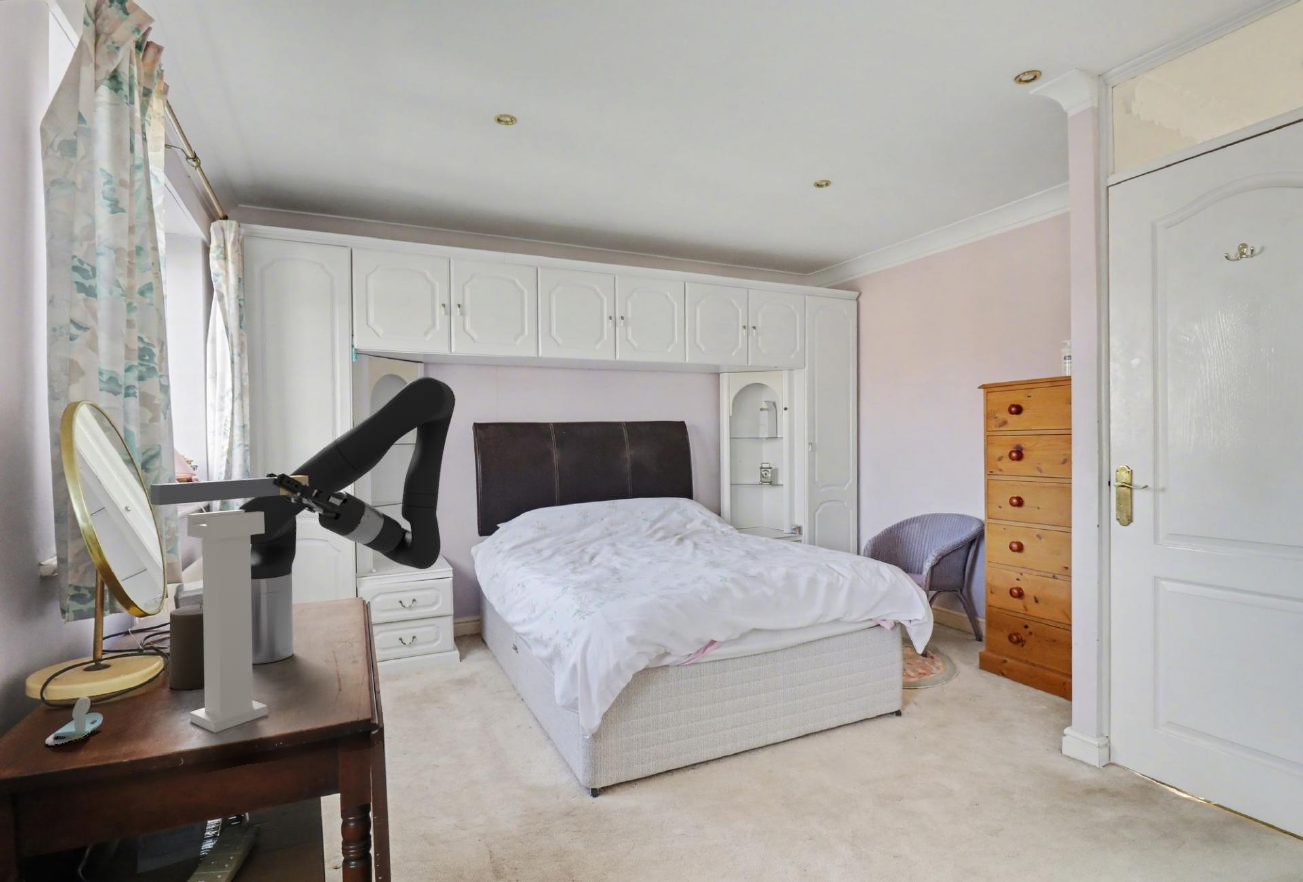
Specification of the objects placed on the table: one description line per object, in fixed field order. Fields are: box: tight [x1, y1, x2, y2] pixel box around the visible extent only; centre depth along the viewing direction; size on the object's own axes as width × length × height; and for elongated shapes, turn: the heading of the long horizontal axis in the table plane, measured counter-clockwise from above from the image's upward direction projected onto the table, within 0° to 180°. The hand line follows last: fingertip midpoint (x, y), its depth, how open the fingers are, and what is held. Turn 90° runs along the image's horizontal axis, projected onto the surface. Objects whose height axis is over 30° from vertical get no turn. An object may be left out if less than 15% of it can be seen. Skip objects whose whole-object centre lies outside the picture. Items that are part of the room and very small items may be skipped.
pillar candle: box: [168, 601, 205, 691], centre depth 128 cm, size 10×10×15 cm
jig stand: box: [186, 509, 268, 733], centre depth 111 cm, size 8×8×34 cm
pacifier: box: [45, 695, 104, 746], centre depth 104 cm, size 7×6×6 cm
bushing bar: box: [149, 476, 308, 506], centre depth 112 cm, size 3×23×3 cm, turn 147°
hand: (272, 478), depth 117 cm, fingers closed on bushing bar, 3 cm apart
